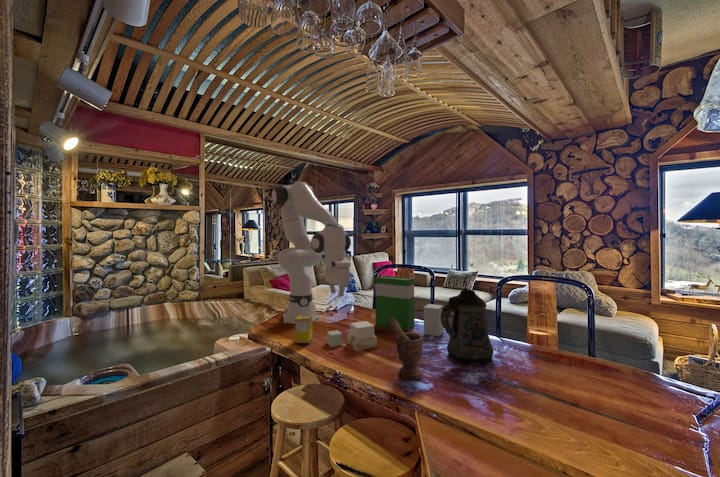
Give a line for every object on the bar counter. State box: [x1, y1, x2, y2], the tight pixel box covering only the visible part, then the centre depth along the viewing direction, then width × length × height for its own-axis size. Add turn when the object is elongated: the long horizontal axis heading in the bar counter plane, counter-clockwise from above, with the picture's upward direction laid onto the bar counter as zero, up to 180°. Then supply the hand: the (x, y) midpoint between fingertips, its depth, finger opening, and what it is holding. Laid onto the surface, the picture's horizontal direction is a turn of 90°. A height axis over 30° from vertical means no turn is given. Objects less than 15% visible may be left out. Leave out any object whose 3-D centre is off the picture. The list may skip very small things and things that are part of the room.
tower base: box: [347, 332, 378, 351], centre depth 132 cm, size 9×9×4 cm
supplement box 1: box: [294, 315, 313, 345], centre depth 136 cm, size 6×6×11 cm
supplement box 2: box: [423, 303, 445, 337], centre depth 146 cm, size 7×7×13 cm
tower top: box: [349, 320, 375, 339], centre depth 132 cm, size 8×8×4 cm
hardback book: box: [375, 274, 415, 331], centre depth 158 cm, size 18×7×24 cm, turn 59°
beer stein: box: [440, 289, 494, 366], centre depth 118 cm, size 16×19×25 cm
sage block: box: [326, 329, 343, 348], centre depth 134 cm, size 5×5×5 cm
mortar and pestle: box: [388, 317, 424, 381], centre depth 103 cm, size 12×9×20 cm
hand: (337, 294), depth 134 cm, fingers open, 8 cm apart
